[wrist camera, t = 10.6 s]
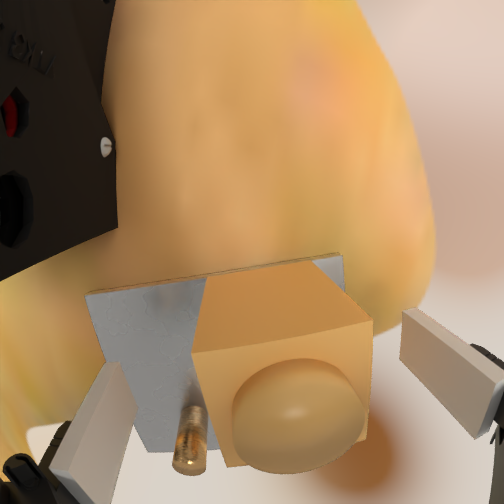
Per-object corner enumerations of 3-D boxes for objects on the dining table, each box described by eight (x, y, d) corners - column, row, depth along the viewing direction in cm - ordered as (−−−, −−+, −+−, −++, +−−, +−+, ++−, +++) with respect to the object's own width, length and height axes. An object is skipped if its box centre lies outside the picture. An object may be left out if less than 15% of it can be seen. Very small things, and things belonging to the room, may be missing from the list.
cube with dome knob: (225, 365, 19) (227, 494, 9) (207, 277, 18) (185, 380, 8) (318, 349, 19) (377, 462, 9) (310, 259, 18) (393, 339, 8)
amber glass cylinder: (184, 426, 20) (177, 476, 15) (177, 406, 20) (167, 457, 15) (211, 424, 20) (209, 475, 15) (204, 404, 20) (201, 456, 15)
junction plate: (149, 445, 21) (147, 452, 20) (89, 291, 18) (84, 295, 17) (342, 420, 22) (345, 426, 21) (338, 252, 19) (342, 255, 18)
